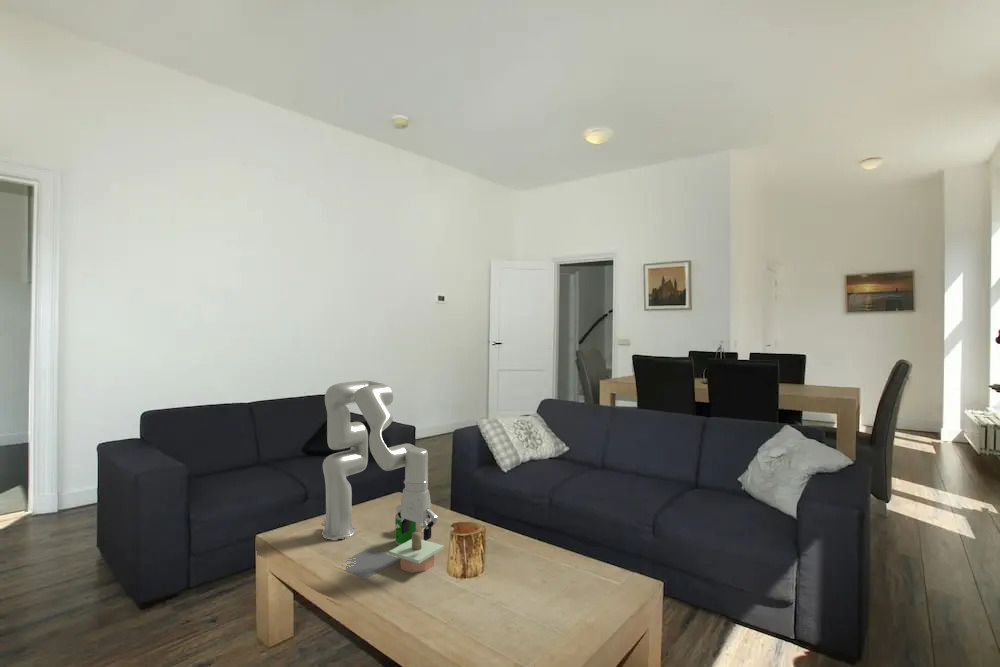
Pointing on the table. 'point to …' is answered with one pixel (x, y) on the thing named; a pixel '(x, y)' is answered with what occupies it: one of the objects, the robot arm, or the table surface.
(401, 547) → the lid
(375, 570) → the mat
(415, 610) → the table surface
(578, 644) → the table surface
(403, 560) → the bowl
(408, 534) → the soda can
